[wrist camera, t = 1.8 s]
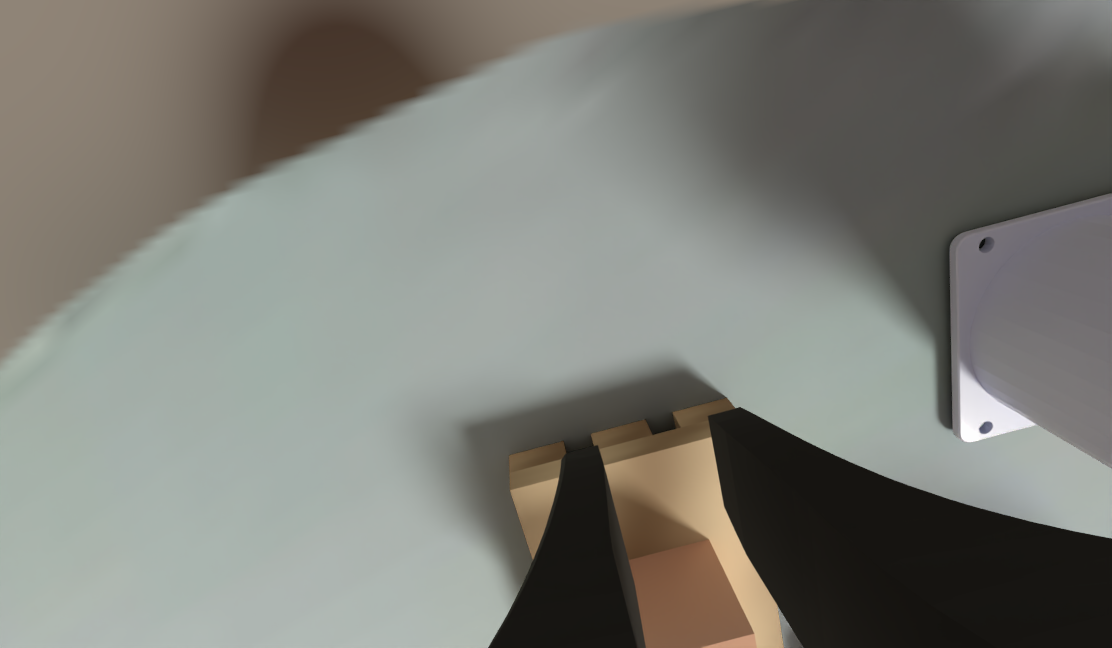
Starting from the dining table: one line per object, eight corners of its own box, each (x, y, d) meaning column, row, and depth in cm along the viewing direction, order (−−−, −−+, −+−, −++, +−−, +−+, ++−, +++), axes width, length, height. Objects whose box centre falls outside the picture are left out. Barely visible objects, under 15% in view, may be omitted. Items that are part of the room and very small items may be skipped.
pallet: (724, 393, 22) (750, 427, 19) (758, 602, 25) (784, 650, 23) (508, 451, 22) (510, 490, 19) (573, 651, 25) (580, 704, 23)
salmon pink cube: (708, 539, 21) (754, 633, 17) (725, 624, 22) (770, 729, 18) (596, 568, 21) (617, 669, 17) (620, 652, 22) (644, 762, 18)
